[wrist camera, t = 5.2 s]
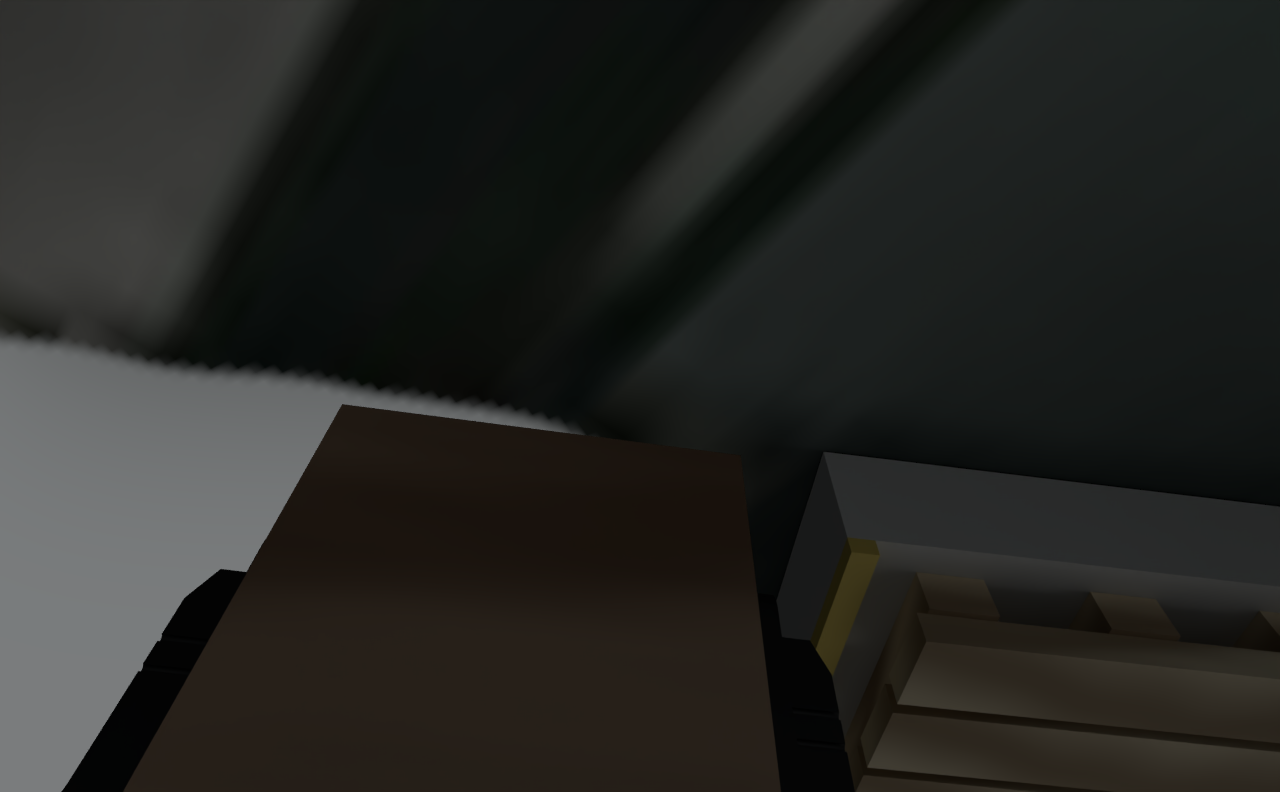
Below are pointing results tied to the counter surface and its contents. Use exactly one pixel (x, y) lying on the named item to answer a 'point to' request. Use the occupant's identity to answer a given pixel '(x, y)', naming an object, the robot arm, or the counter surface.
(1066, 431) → the counter surface
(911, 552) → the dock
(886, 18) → the counter surface
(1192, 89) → the counter surface
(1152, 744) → the pallet
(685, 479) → the block
